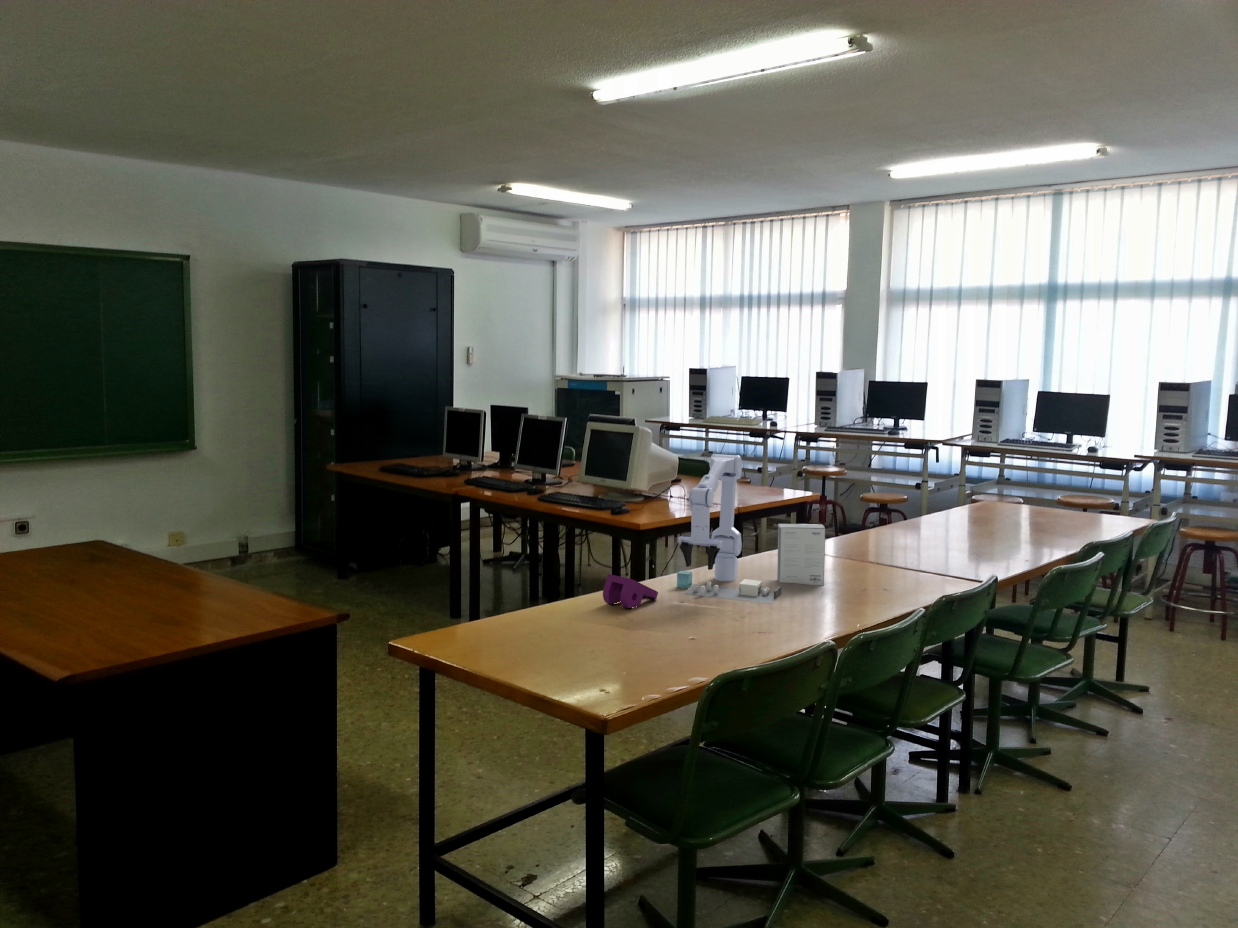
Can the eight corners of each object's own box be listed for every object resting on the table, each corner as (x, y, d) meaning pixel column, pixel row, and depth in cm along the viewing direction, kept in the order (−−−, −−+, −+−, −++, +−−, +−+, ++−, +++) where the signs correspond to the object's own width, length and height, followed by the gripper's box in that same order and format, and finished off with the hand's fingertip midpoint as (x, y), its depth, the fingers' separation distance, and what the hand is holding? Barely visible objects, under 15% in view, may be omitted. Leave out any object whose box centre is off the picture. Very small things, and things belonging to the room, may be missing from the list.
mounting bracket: (633, 614, 300) (599, 600, 287) (641, 589, 302) (608, 573, 288) (656, 620, 294) (623, 605, 280) (664, 594, 295) (631, 578, 282)
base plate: (697, 586, 313) (697, 575, 313) (781, 595, 303) (781, 584, 302) (683, 596, 300) (683, 585, 299) (770, 606, 289) (771, 594, 288)
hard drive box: (821, 580, 324) (823, 524, 322) (824, 586, 316) (826, 528, 314) (776, 579, 325) (778, 522, 323) (777, 584, 318) (779, 526, 316)
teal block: (680, 585, 315) (681, 570, 315) (692, 586, 314) (692, 571, 313) (676, 587, 311) (677, 573, 311) (688, 589, 310) (688, 574, 309)
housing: (744, 589, 307) (744, 579, 306) (762, 591, 304) (762, 580, 304) (738, 594, 300) (739, 583, 300) (757, 596, 298) (757, 585, 298)
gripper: (674, 525, 295) (673, 567, 297) (716, 529, 288) (715, 572, 290) (684, 521, 302) (683, 563, 303) (725, 526, 294) (724, 568, 296)
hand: (699, 567), depth 297 cm, fingers open, 7 cm apart
